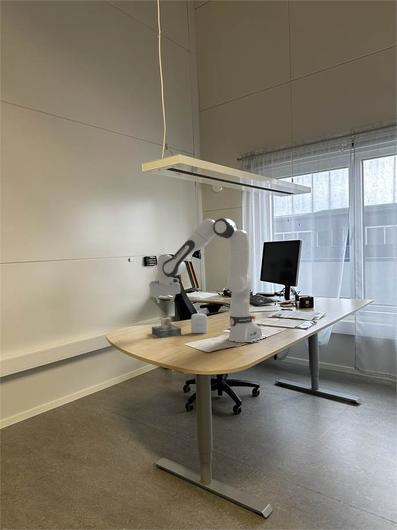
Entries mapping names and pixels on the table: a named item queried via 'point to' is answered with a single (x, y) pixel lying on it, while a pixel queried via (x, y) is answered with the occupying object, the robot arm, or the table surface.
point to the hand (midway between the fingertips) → (165, 302)
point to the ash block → (166, 323)
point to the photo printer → (199, 323)
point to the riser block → (166, 331)
